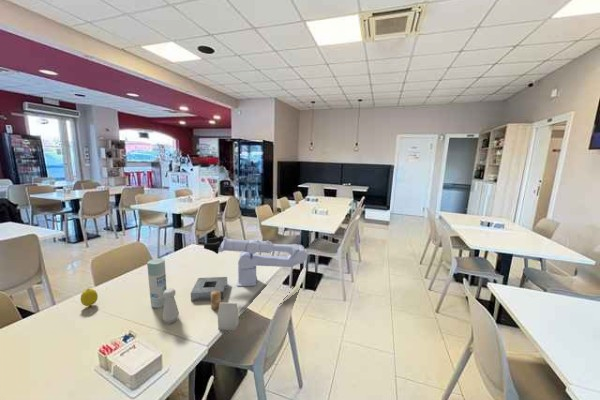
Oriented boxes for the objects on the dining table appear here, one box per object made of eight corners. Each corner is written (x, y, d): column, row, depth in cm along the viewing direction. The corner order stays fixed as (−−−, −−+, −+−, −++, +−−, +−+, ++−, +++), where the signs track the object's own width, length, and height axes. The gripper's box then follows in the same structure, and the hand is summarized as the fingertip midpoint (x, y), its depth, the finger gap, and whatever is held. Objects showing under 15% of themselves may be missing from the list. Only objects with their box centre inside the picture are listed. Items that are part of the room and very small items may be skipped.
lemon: (101, 304, 109) (99, 287, 108) (86, 311, 104) (83, 293, 103) (94, 301, 111) (92, 284, 110) (79, 307, 106) (76, 290, 105)
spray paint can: (160, 309, 107) (156, 265, 103) (147, 307, 108) (143, 263, 105) (170, 300, 113) (168, 259, 110) (158, 298, 114) (155, 257, 111)
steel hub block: (227, 284, 129) (227, 276, 128) (223, 299, 115) (222, 291, 115) (198, 285, 127) (198, 277, 126) (191, 301, 113) (190, 292, 113)
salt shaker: (182, 317, 102) (180, 288, 100) (171, 326, 97) (169, 295, 94) (171, 314, 104) (169, 285, 102) (159, 322, 98) (157, 292, 96)
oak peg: (221, 304, 112) (221, 290, 110) (220, 310, 108) (219, 295, 106) (212, 305, 111) (211, 290, 110) (210, 310, 107) (209, 295, 106)
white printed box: (235, 330, 96) (235, 306, 94) (218, 329, 96) (217, 305, 94) (238, 324, 99) (238, 300, 98) (221, 323, 100) (221, 300, 98)
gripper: (236, 233, 133) (209, 231, 131) (232, 242, 119) (202, 240, 117) (235, 245, 134) (208, 244, 132) (231, 256, 120) (202, 255, 118)
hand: (205, 243), depth 125 cm, fingers open, 7 cm apart
